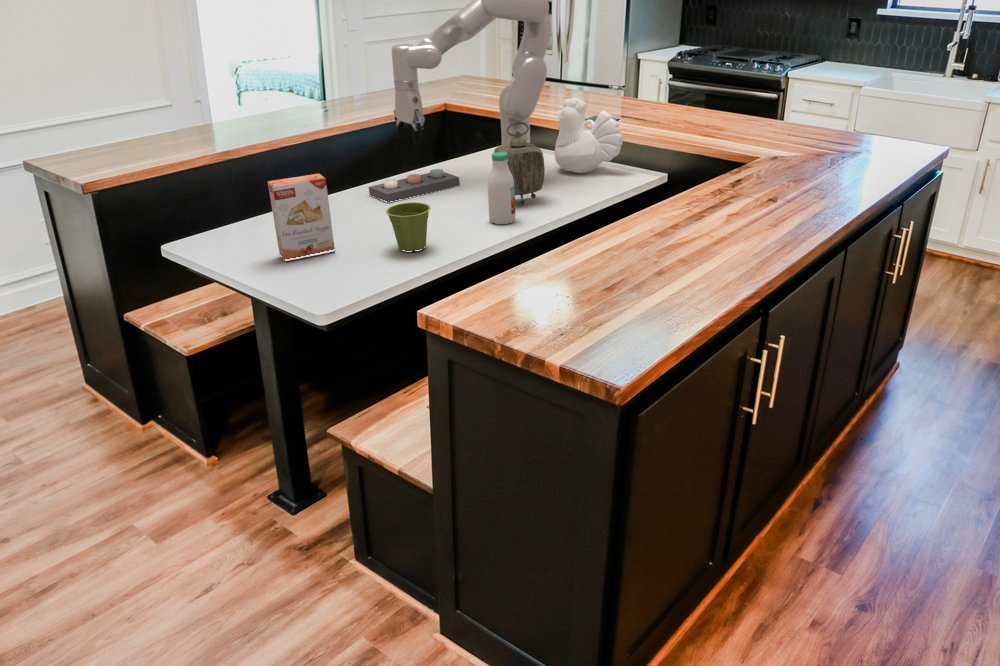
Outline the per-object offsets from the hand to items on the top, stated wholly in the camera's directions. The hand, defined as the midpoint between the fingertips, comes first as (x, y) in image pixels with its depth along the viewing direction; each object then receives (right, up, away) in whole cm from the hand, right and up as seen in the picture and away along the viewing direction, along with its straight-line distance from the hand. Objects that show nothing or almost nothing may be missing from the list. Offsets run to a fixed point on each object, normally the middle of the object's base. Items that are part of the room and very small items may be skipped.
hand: (410, 140), depth 257 cm
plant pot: (+5, -40, -43) cm, 59 cm away
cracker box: (-23, -42, -44) cm, 65 cm away
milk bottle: (+30, -30, -25) cm, 49 cm away
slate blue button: (+8, -11, +11) cm, 17 cm away
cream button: (-6, -16, +1) cm, 17 cm away
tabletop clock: (+35, -22, -10) cm, 43 cm away
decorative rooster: (+59, -7, +19) cm, 63 cm away
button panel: (+1, -15, +7) cm, 17 cm away
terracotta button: (+1, -13, +6) cm, 15 cm away
